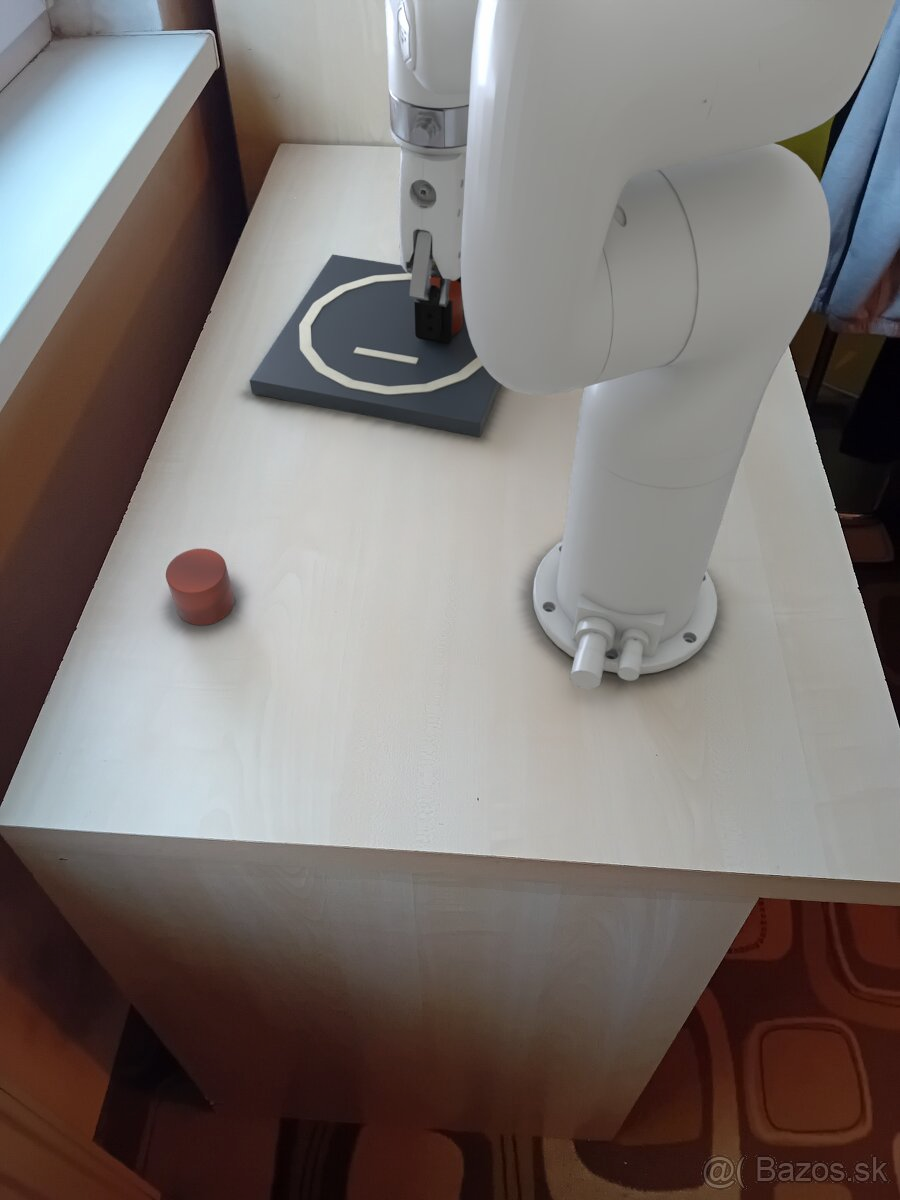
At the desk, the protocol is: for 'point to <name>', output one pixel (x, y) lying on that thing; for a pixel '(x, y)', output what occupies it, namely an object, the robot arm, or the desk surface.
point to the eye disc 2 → (456, 297)
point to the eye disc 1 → (200, 586)
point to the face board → (374, 354)
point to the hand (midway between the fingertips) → (441, 321)
